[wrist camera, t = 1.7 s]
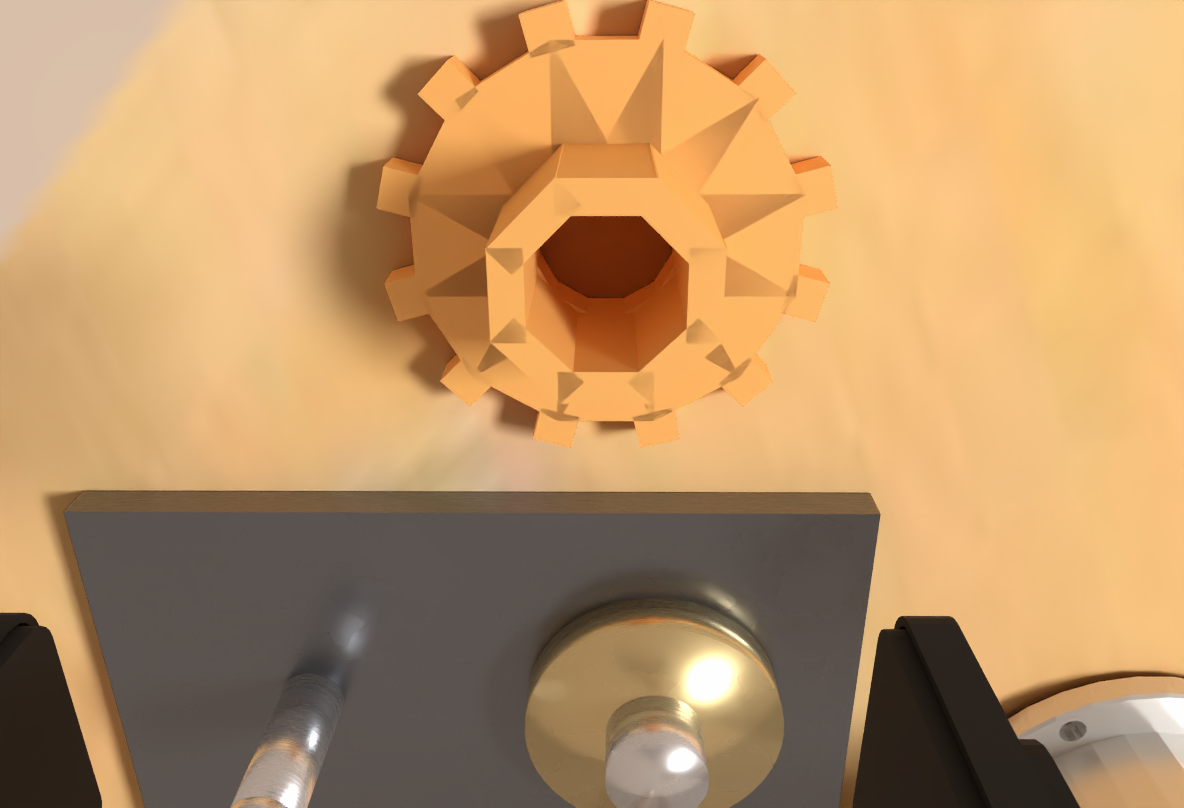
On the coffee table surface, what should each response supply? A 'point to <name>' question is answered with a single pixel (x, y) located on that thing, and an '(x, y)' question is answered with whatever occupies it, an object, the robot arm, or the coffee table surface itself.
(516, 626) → the carrier plate
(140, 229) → the coffee table surface
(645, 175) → the planet gear
